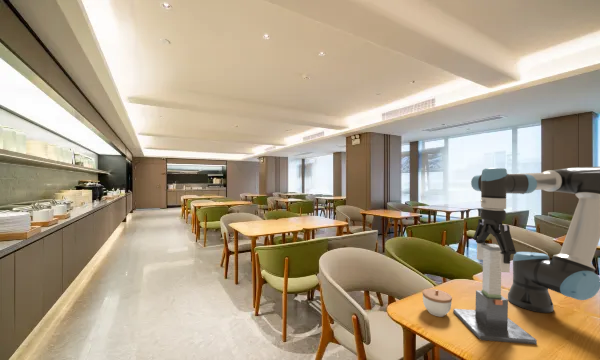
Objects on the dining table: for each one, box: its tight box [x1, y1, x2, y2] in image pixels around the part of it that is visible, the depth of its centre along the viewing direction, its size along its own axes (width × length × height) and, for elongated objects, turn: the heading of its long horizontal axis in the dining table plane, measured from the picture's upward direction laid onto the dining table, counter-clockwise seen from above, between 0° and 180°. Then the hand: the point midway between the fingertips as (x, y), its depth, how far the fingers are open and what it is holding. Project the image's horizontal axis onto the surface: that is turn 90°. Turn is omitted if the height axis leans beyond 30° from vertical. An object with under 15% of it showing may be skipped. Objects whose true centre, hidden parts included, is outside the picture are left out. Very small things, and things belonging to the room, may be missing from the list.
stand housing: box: [453, 289, 538, 345], centre depth 94 cm, size 18×18×12 cm
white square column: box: [481, 243, 502, 298], centre depth 94 cm, size 5×5×21 cm
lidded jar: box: [421, 288, 453, 318], centre depth 104 cm, size 11×11×9 cm
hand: (491, 265), depth 94 cm, fingers open, 13 cm apart
